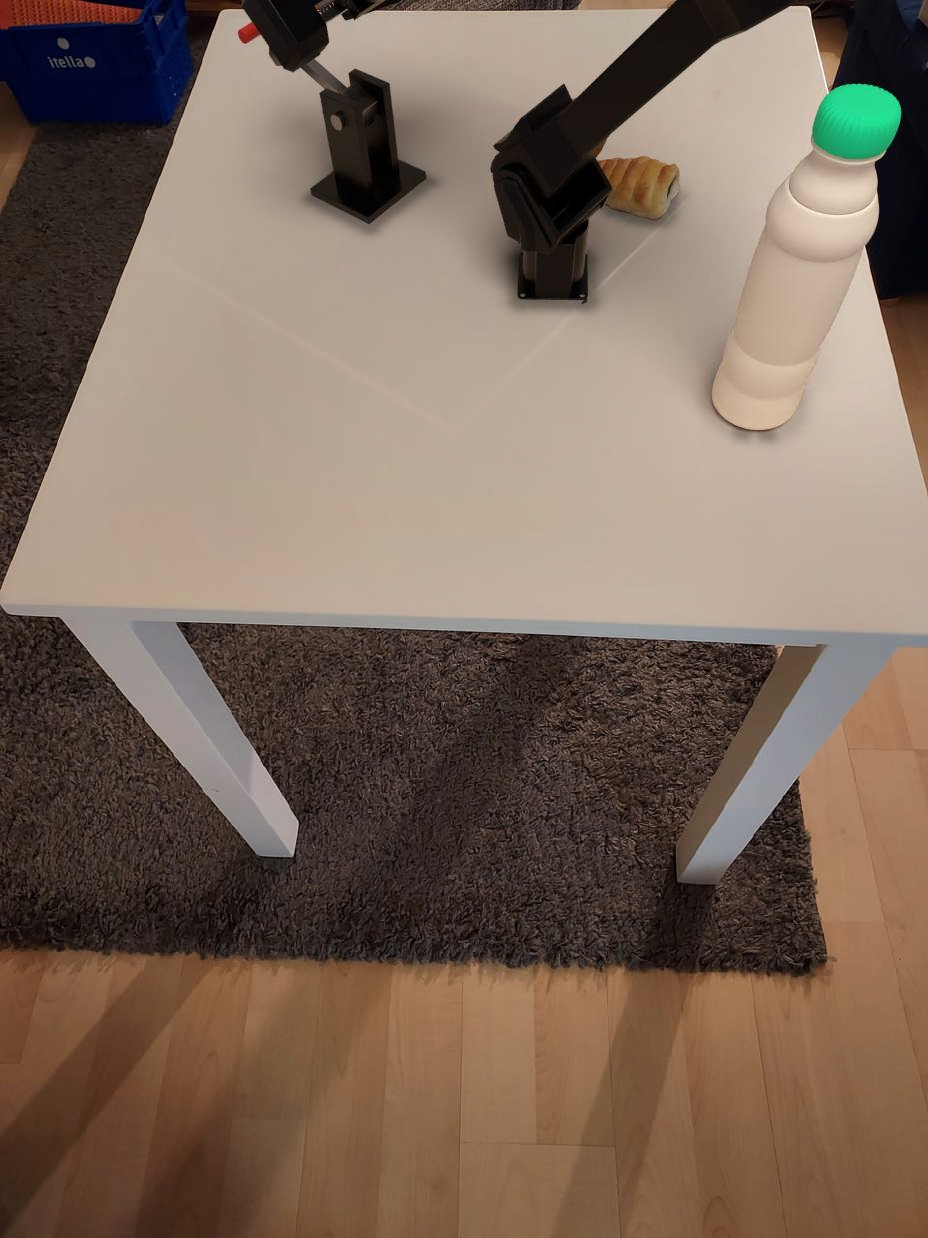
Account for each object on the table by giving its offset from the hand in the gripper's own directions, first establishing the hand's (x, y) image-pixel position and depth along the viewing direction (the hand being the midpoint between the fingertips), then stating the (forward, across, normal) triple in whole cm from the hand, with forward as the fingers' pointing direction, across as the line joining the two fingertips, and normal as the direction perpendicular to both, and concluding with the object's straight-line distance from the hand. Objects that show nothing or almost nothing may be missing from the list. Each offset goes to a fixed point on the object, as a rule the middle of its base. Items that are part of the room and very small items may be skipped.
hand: (309, 36), depth 77 cm
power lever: (+3, 0, +2) cm, 4 cm away
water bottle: (-27, +2, +45) cm, 53 cm away
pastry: (-10, -14, +29) cm, 34 cm away
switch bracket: (+6, 0, +13) cm, 14 cm away
